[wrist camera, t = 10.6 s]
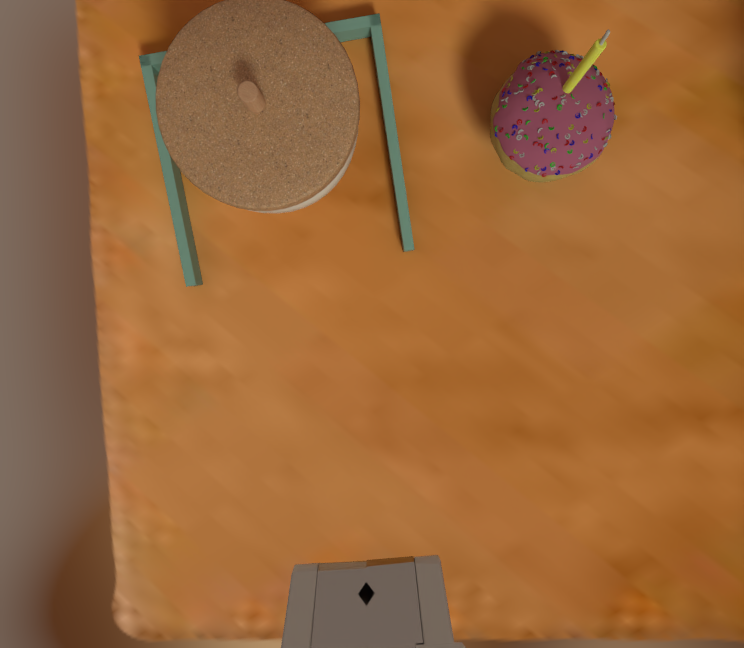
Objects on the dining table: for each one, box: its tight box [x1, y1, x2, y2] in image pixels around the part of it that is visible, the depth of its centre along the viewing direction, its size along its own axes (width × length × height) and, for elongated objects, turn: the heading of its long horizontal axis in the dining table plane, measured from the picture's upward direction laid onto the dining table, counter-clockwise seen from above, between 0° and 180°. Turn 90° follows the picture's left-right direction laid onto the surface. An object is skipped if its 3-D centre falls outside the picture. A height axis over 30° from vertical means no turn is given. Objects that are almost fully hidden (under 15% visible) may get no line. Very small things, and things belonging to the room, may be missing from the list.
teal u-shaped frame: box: [139, 14, 414, 287], centre depth 36 cm, size 18×19×2 cm
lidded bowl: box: [156, 0, 360, 213], centre depth 31 cm, size 13×13×11 cm
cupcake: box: [490, 30, 617, 182], centre depth 31 cm, size 9×8×12 cm
